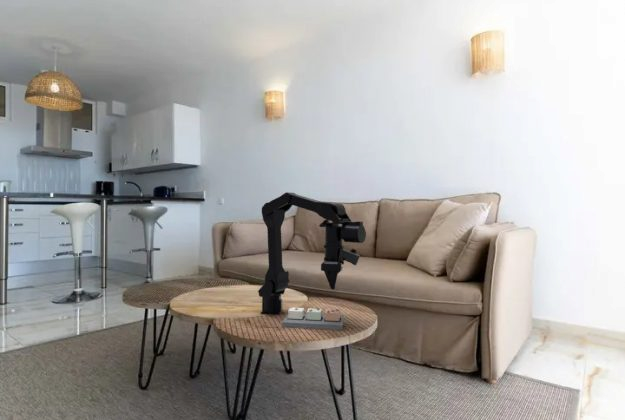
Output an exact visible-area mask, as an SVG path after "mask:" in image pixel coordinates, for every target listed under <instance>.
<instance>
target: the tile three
mask: <svg viewBox="0 0 625 420" xmlns="http://www.w3.org/2000/svg"><path fill="white" fill-rule="evenodd" d="M324 314H325V320H327V322H328V321H339V319H340V315H341V309H338V308H337V309H335V308H334V309H333V308H327V309H326V310H325V312H324Z"/></svg>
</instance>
